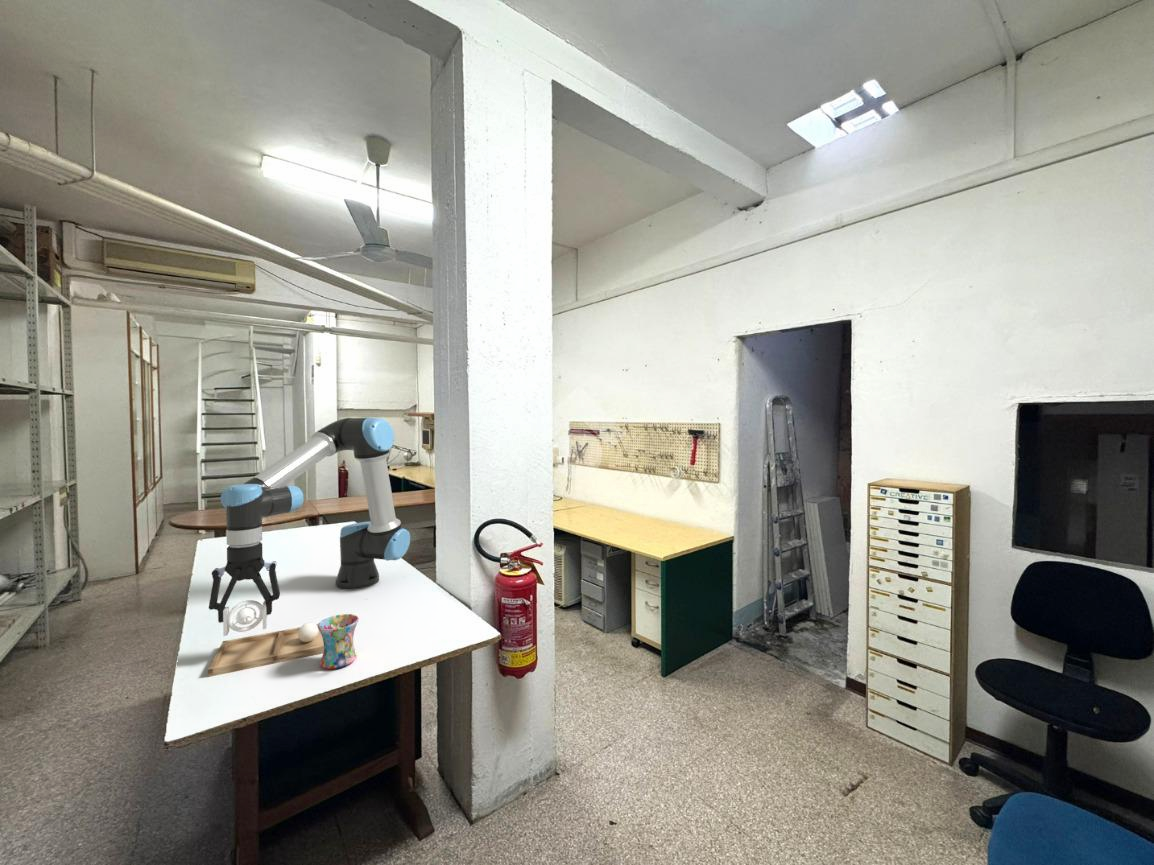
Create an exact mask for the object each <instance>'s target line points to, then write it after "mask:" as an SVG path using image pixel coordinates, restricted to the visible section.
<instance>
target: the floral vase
mask: <svg viewBox="0 0 1154 865" xmlns="http://www.w3.org/2000/svg"><path fill="white" fill-rule="evenodd" d="M358 622H359V617H358V616H357V615H356V614H352V613H351V614H350V613H342V614H335V615H332V616H330V617H326V618H324V619H322V620H321V621H320V622H318V623H317V624H318V629H319V631H320V633H321V635H322V638H323V643H324V652H323V654H322V657H321V659H320V661H319V665H320V666H321V667H322V668H323V669H329V670H331V669H333V670H335V669H339V668H342V667H346V666H348V665H351V664H352V663H353V662H354V661H355V660H356V659H357V657H358V653H357V651H356V649H355V646H354V645H355V644H354V637H355V636H354V635H355V630H356V627H357V624H358Z"/></svg>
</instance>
